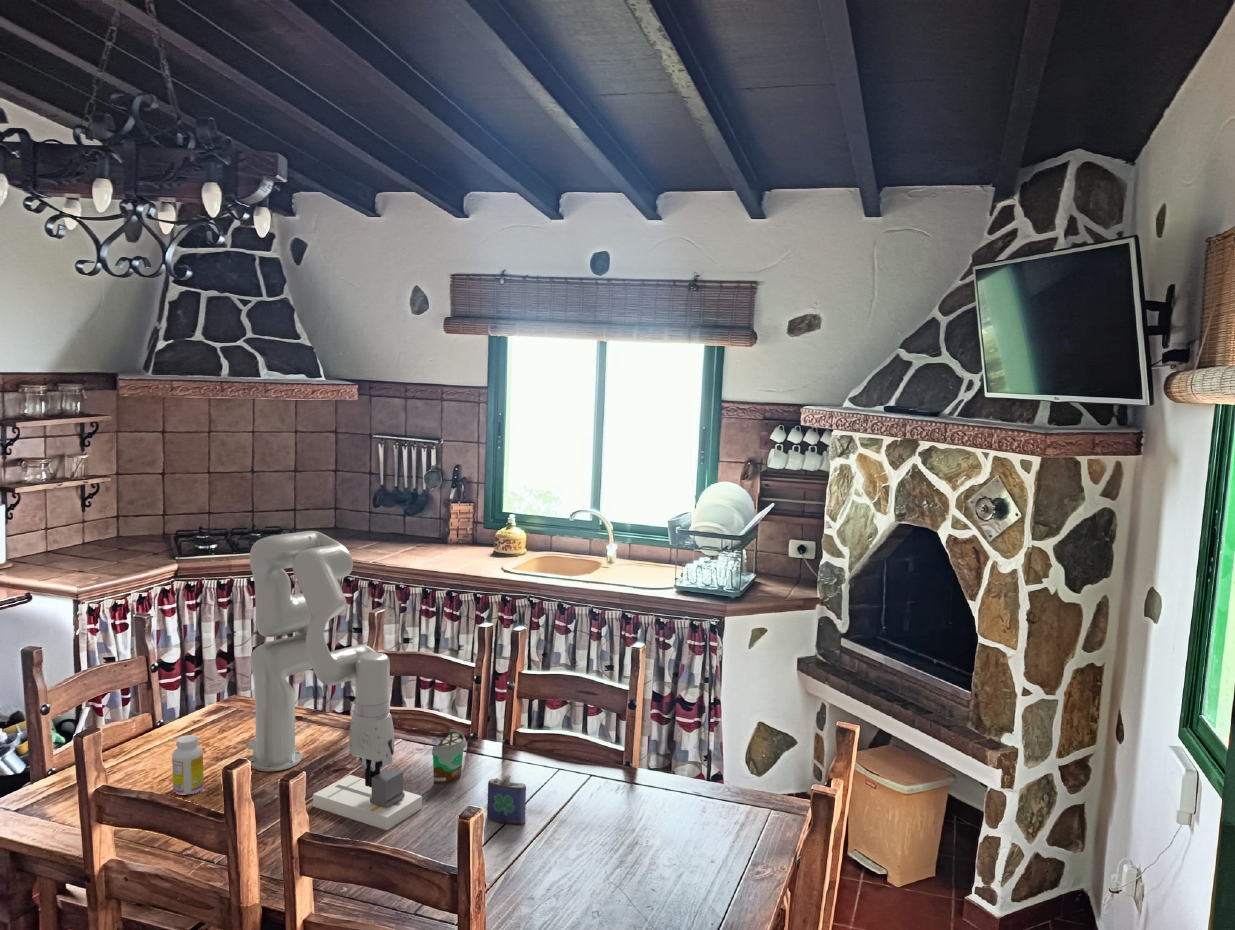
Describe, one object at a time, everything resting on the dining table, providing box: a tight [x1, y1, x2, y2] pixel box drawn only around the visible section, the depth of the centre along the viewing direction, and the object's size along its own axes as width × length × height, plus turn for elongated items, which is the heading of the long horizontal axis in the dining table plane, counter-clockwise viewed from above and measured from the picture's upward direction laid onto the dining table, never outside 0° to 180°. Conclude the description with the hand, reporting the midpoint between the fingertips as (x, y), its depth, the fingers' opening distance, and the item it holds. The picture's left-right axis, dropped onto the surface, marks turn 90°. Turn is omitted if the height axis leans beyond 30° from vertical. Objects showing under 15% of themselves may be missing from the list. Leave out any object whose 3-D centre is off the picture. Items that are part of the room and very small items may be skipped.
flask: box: [486, 774, 527, 826], centre depth 212 cm, size 9×3×11 cm, turn 74°
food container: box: [431, 728, 467, 785], centre depth 233 cm, size 12×6×10 cm, turn 168°
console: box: [312, 774, 423, 831], centre depth 216 cm, size 22×12×3 cm, turn 63°
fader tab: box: [370, 767, 405, 808], centre depth 213 cm, size 5×6×6 cm
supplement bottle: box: [171, 734, 205, 795], centre depth 221 cm, size 7×7×13 cm
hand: (372, 784), depth 215 cm, fingers closed
